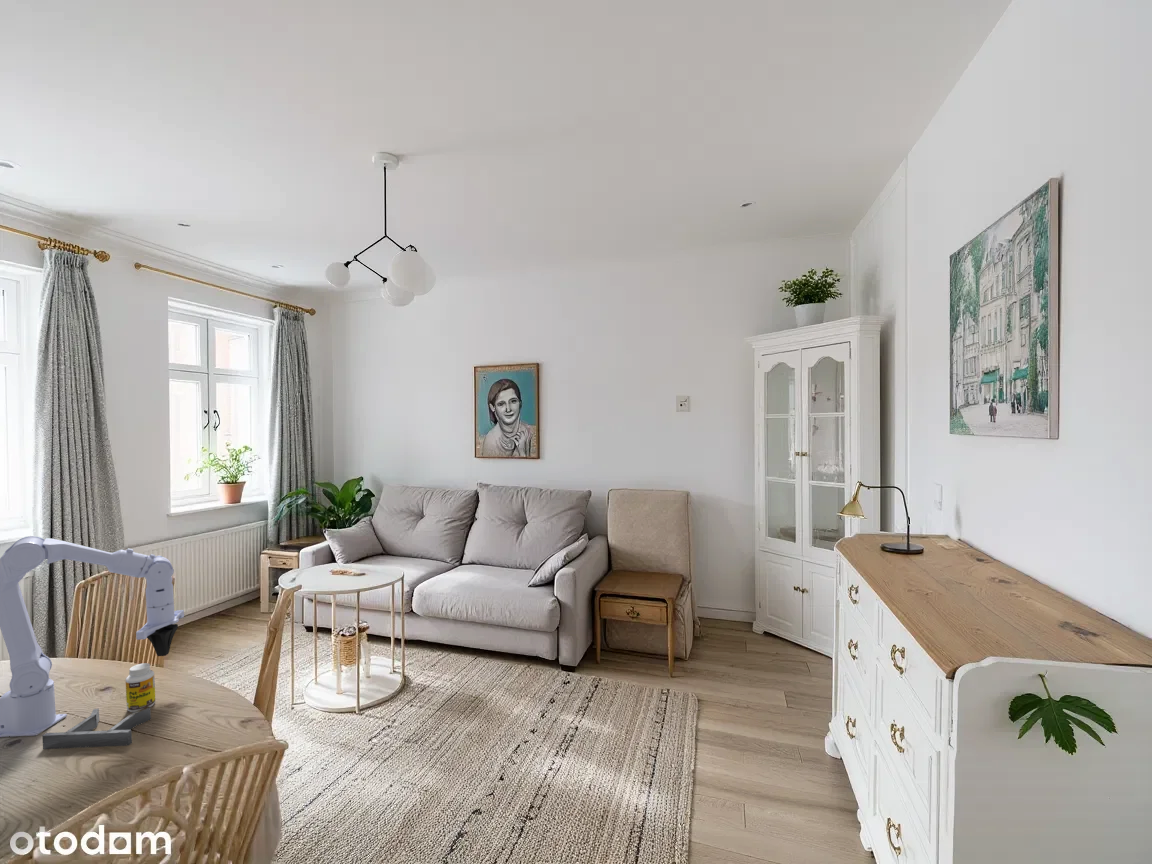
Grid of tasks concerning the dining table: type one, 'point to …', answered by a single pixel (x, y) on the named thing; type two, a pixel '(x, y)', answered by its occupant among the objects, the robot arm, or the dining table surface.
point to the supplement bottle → (140, 687)
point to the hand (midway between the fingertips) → (162, 654)
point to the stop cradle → (97, 732)
